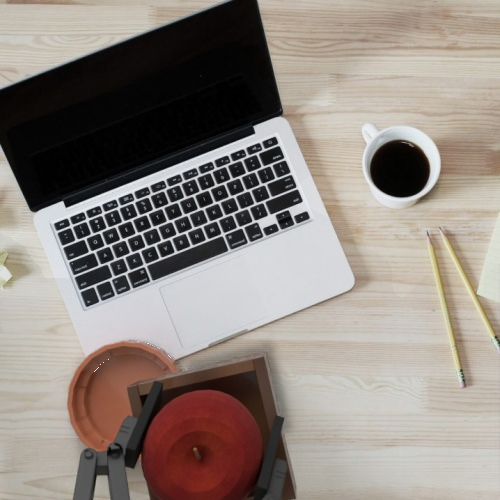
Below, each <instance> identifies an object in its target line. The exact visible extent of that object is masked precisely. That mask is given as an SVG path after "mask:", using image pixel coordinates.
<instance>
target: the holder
mask: <svg viewBox="0 0 500 500" xmlns="http://www.w3.org/2000/svg"><path fill="white" fill-rule="evenodd" d="M256 354H257V353H256ZM247 356H248V355H247ZM267 356H268V353H267V354H266V353H262V354H257V355H253V356H248V357H244V356H243V357H244V358H239V357H238V358H239V359H235V358H234V359H235V360H230V359H229V360H230V361H226V360H225V361H226V362H221V361H220V362H221V363H217V362H216V363H217V364H212V363H211V364H212V365H208V364H207V365H208V366H203V365H202V366H203V367H199V366H198V367H199V368H195V367H193V368H191V369H186V370H181V372H177V373H172V374H168V375H163V376H159V377H154V378H150V379H145V380H141V381H137V382H135V383H133V384H131V385H129V386H127V392H128V397H129V402H130V407H131V411H132V416H133V417H136V418H139V415H140V413H141V411H142V408H143V406H144V404H145V401H146V399H147V397H148V394H149V392H150V390H151V387H152V385H153V383H154V380H155V381H159V382H162V383H163V391H162V402H161V405H160V407H159V410H158V412H157V414H158V413H159V412H160V411H161V410H162V408H163V407H164V406H165V405H167V404H168V403H169V402H171V401H172V400H173V399H175V398H177V397H179V396H181V395H183V394H185V393H189V392H193V391H198V390H214V391H220V392H223V393H226V394H228V395H231V396H232V397H234V398H235V399H237V400H239V401H240V402H241V403H242V404H243V405H244V406H245V407H246V408H247V409H248V410H249V412H250V413H251V415H252V416H253V417H254V419H255V421H256V423H257V425H258V427H259V429H260V432H261V436H262V440H263V449H264V456H265V452H266V449H267V445H268V441H269V437H270V433H271V430H272V426H273V422H274V419H275V415H277V416H280V414H281V411H280V412H279V409H280V406H279V407H278V405H279V402H278V403H277V400H278V397H277V398H276V396H277V393H276V394H275V392H276V388H275V389H274V387H275V384H274V385H273V383H274V380H273V381H272V378H273V375H272V376H271V374H272V371H271V372H270V369H271V366H270V367H269V365H270V362H269V363H268V361H269V357H268V358H267ZM141 452H142V451H141ZM264 456H263V460H264ZM275 458H277V459H281V460H284V461H287V466H288V469H287V473H286V478H285V482H284V487H283V491H282V500H296V499H297V482H296V478H295V473H294V470H293V469H294V468H293V464H292V461H291V456H290V451H289V448H288V443H287V438H286V435H285V430H284V425H283V426H282V431H281V435H280V439H279V443H278V447H277V451H276V455H275ZM258 480H259V479H258ZM145 482H146V481H145ZM257 483H258V481H257ZM257 483H256V485H255V486H254V488H253V490H252V491H251V492H250V494H249V495H248V496H247V497H246V498H245V500H253V499H254V495H255V491H256V487H257ZM146 487H147V491H148V496H149V500H159V499H158V498H157V497H156V496H155V495H154V493H153V492H152V491H151V489H150V488H149V487H148V485H147V482H146Z"/></svg>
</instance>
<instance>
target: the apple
mask: <svg viewBox="0 0 500 500" xmlns="http://www.w3.org/2000/svg"><path fill="white" fill-rule="evenodd" d="M263 456H264V449H263V440H262V436H261V432H260V429H259V427H258V425H257V423H256V421H255V419H254V417H253V416H252V415H251V413H250V412H249V410H248V409H247V408H246V407H245V406H244V405H243V404H242V403H241V402H240V401H239V400H237V399H235V398H234V397H232V396H231V395H228V394H226V393H223V392H220V391H214V390H198V391H193V392H189V393H185V394H183V395H181V396H179V397H177V398H175V399H173V400H172V401H171V402H169V403H168V404H167V405H165V406H164V407H163V408H162V410H161V411H160V412H159V413H158V414H157V415H156V416H155V417H154V419H153V420H152V422H151V424H150V425H149V427H148V429H147V432H146V434H145V437H144V440H143V446H142V452H141V461H140V463H141V464H140V466H141V467H140V468H141V471H142V476H143V478H144V480H145V482H147V483H146V486H147V485H148V487H149V488H150V489H151V491H152V492H153V493H154V495H155V496H156V497H157V498H158V499H159V500H245V498H246V497H247V496H248V495H249V494H250V492H251V491H252V490H253V488H254V486H255V485H256V483H257V481H258V479H259V476H260V472H261V469H262V465H263ZM148 487H147V488H148Z"/></svg>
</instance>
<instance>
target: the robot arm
mask: <svg viewBox="0 0 500 500" xmlns="http://www.w3.org/2000/svg"><path fill="white" fill-rule="evenodd" d="M162 391H163V383H162V382H159V381H155V380H154V383H153V385H152V387H151V390H150V392H149V394H148V397H147V399H146V401H145V404H144V406H143V408H142V411H141V413H140V415H139V418H136V417H132V416H129V415H128V416H127V417H126V418H125V419H124V420H123V422H122V424H121V427H120V429H119V431H118V433H117V436H116V438H115V440H114V442H112V443H110V444H109V445H108V447H107V450H106V451H96V450H94V449H92V448H88V447H87V448H84V449H83V450H81V452H80V456H79V461H78V467H77V474H76V479H75V484H74V490H73V495H72V500H94V497H95V489H96V483H97V479H98V477H99V476H106V477H107V484H108V492H109V499H110V500H131V495H130V487H129V482H128V475H127V468H129V469H132V470H135V468H136V466H137V464H138V462H139V461H138V459H139V456H140V454H141V451H142V446H143V440H144V437H145V434H146V432H147V429H148V427H149V425H150V424H151V422H152V420H153V419H154V417H155V416H156V415H157V412H158V410H159V407H160V405H161V402H162ZM284 422H285V417H284V416H282V415H281V416H277V415H275V419H274V422H273V426H272V430H271V433H270V437H269V441H268V445H267V449H266V452H265V456H264V460H263V465H262V469H261V472H260V476H259V480H258V483H257V487H256V491H255V495H254V499H253V500H282V491H283V487H284V482H285V478H286V473H287V469H288V466H287V461H284V460H281V459H277V458H275V455H276V451H277V447H278V443H279V439H280V435H281V431H282V426H283V427H284Z"/></svg>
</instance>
